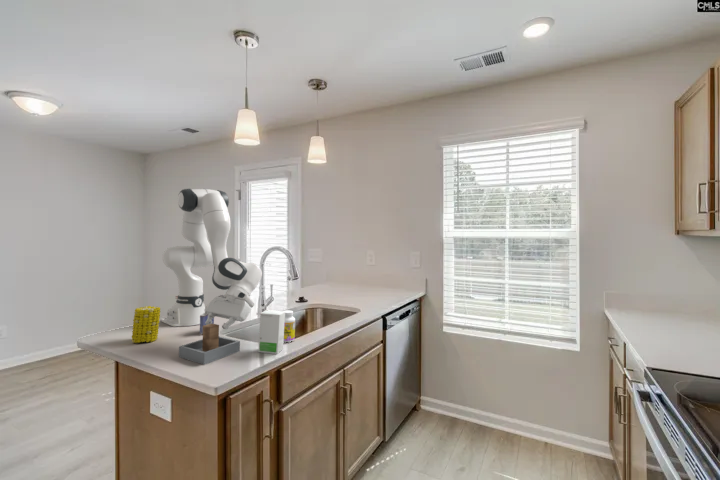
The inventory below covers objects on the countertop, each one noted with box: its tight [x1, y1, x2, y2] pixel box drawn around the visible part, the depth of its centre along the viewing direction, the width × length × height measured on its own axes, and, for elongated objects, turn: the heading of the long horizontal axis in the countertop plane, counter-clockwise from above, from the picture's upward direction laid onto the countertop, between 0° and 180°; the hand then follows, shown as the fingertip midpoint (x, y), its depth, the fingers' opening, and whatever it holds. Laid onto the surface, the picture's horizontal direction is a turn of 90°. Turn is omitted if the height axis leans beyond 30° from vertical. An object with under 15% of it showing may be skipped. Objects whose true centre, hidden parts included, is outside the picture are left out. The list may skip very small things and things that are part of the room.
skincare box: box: [257, 309, 285, 355], centre depth 134 cm, size 8×7×16 cm
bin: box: [178, 336, 241, 365], centre depth 129 cm, size 14×16×4 cm
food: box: [131, 305, 161, 344], centre depth 143 cm, size 15×12×10 cm
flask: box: [199, 310, 215, 336], centre depth 156 cm, size 9×3×11 cm, turn 172°
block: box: [202, 323, 220, 352], centre depth 129 cm, size 4×4×10 cm
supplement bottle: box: [283, 309, 296, 344], centre depth 147 cm, size 7×7×13 cm
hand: (215, 326), depth 131 cm, fingers open, 8 cm apart
